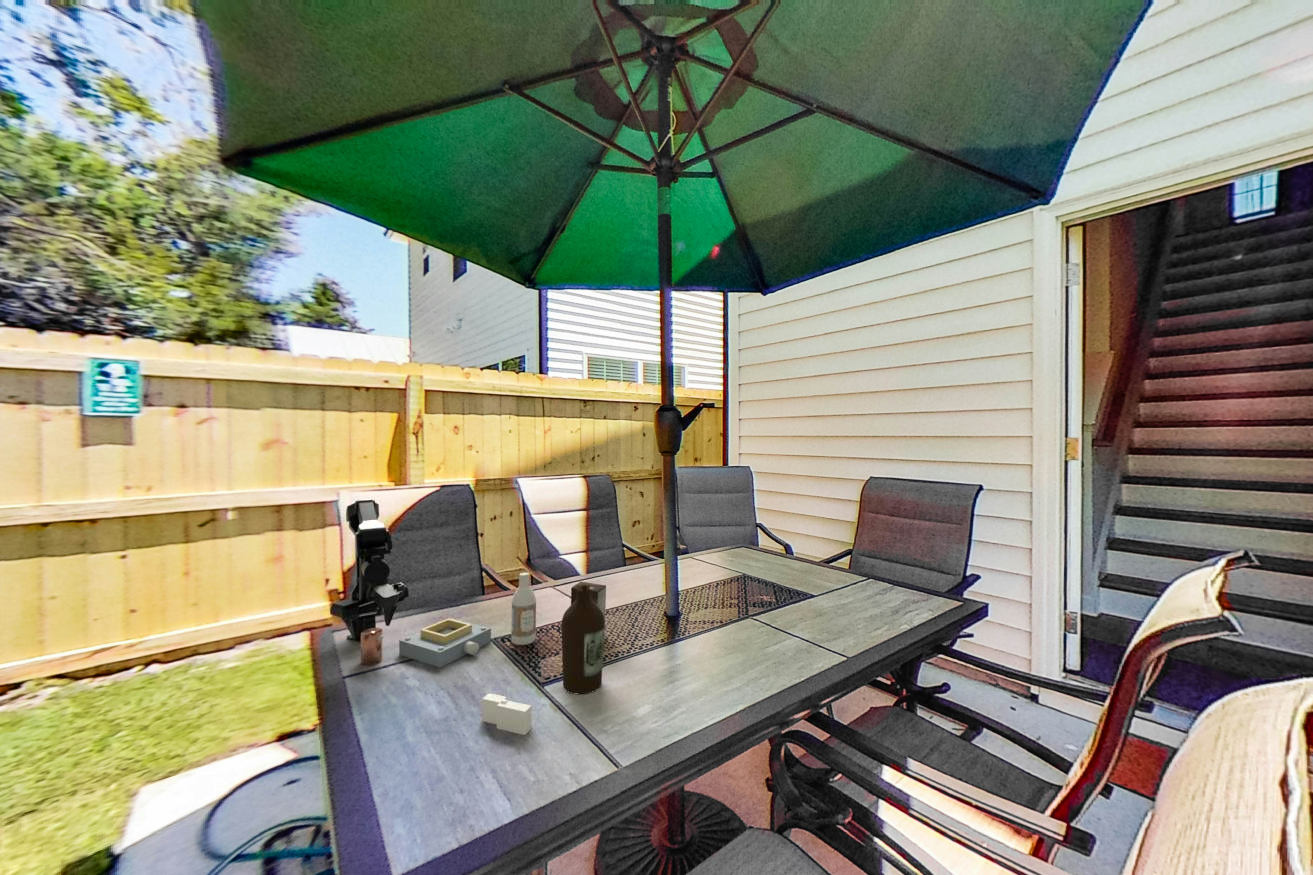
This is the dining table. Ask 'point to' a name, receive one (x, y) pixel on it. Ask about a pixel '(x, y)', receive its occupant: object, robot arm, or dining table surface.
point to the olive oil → (582, 643)
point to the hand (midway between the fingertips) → (371, 631)
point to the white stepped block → (506, 714)
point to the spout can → (371, 646)
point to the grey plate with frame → (445, 642)
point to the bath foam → (523, 613)
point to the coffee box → (593, 596)
